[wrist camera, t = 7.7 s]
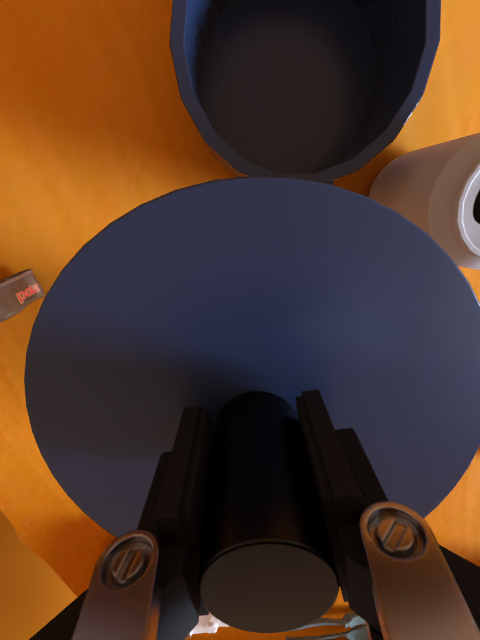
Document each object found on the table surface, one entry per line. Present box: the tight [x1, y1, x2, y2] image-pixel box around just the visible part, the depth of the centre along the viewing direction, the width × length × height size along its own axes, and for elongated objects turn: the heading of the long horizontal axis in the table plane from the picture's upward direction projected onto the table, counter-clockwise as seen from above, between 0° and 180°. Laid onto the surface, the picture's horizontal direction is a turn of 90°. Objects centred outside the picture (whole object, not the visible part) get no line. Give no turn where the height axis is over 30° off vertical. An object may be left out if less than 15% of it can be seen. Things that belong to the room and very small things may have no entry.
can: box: [368, 133, 480, 270], centre depth 22 cm, size 8×8×12 cm
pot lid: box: [24, 176, 480, 633], centre depth 9 cm, size 16×16×6 cm
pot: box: [170, 0, 441, 185], centre depth 21 cm, size 15×20×8 cm
